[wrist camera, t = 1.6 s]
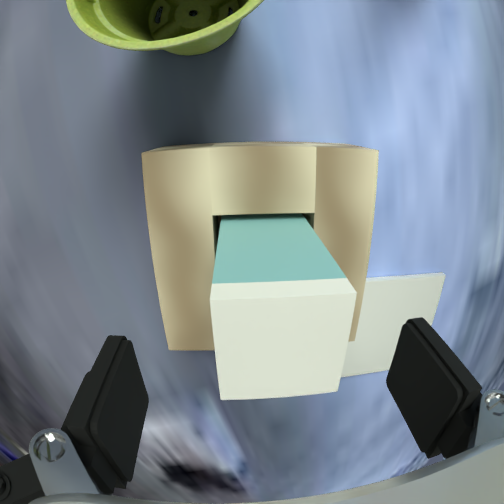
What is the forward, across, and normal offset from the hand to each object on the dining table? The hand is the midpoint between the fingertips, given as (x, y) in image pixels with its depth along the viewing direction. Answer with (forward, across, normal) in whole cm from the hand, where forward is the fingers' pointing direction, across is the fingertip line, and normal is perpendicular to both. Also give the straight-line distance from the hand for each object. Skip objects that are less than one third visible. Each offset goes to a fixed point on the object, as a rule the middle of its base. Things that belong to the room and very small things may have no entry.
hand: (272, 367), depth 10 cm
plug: (+12, 0, -1) cm, 12 cm away
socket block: (+13, -1, -1) cm, 13 cm away
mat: (+13, -12, +8) cm, 19 cm away
